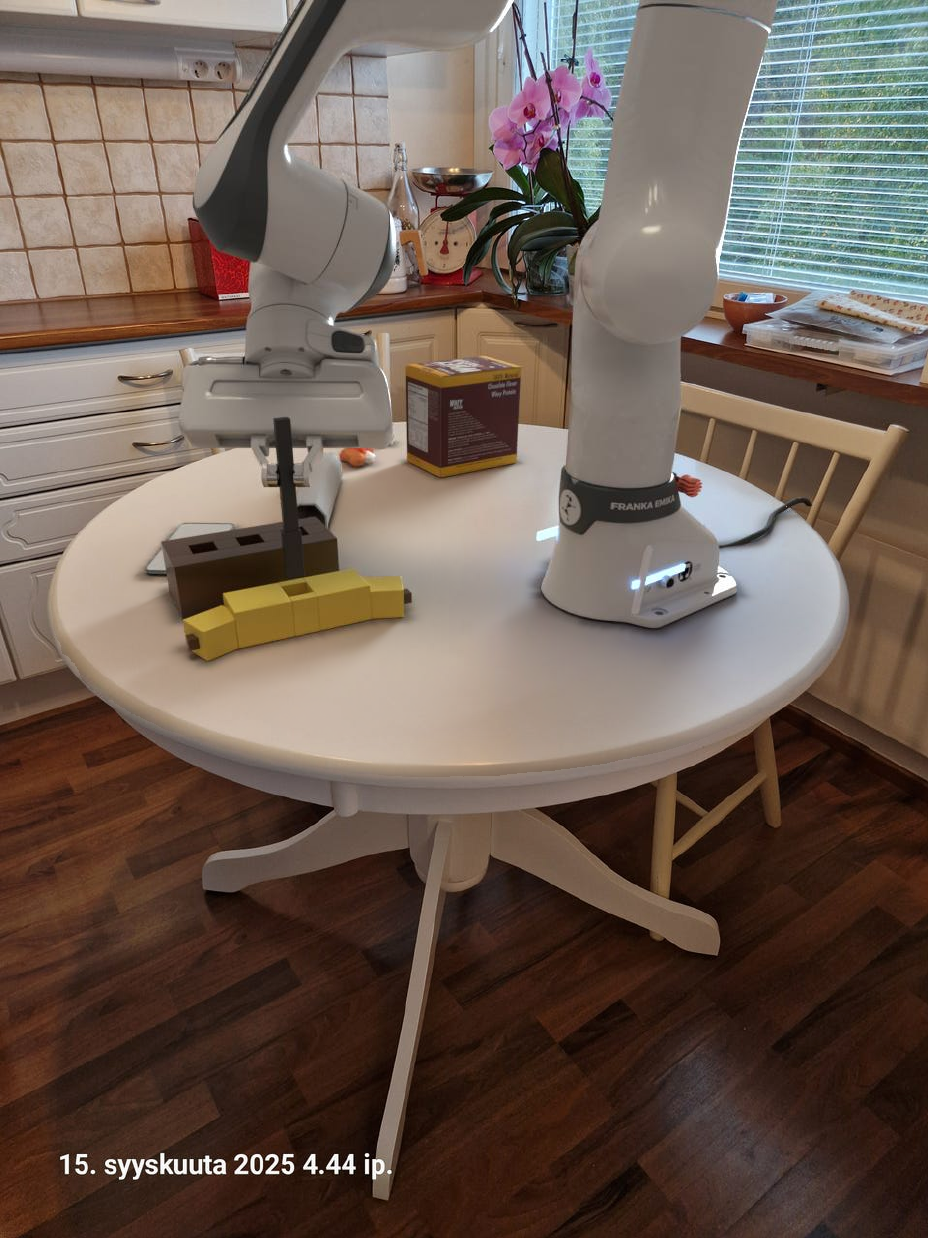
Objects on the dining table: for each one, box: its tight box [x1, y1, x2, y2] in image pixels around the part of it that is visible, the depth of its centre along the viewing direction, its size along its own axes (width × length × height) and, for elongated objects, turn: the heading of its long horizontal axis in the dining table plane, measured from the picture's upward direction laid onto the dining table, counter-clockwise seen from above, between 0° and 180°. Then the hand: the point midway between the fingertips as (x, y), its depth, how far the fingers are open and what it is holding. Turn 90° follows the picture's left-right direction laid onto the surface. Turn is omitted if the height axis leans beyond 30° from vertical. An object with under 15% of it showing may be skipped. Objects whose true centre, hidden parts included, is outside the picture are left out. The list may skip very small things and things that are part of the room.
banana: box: [182, 567, 413, 662], centre depth 84 cm, size 6×23×4 cm, turn 118°
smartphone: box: [144, 522, 235, 575], centre depth 101 cm, size 7×1×15 cm
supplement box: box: [404, 355, 522, 478], centre depth 131 cm, size 10×15×16 cm
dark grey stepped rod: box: [273, 417, 305, 580], centre depth 79 cm, size 2×1×16 cm, turn 118°
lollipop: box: [339, 448, 376, 467], centre depth 132 cm, size 6×10×12 cm, turn 177°
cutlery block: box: [160, 517, 340, 620], centre depth 90 cm, size 7×17×6 cm, turn 118°
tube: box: [296, 452, 343, 530], centre depth 114 cm, size 5×5×25 cm
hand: (286, 484), depth 77 cm, fingers closed on dark grey stepped rod, 1 cm apart
